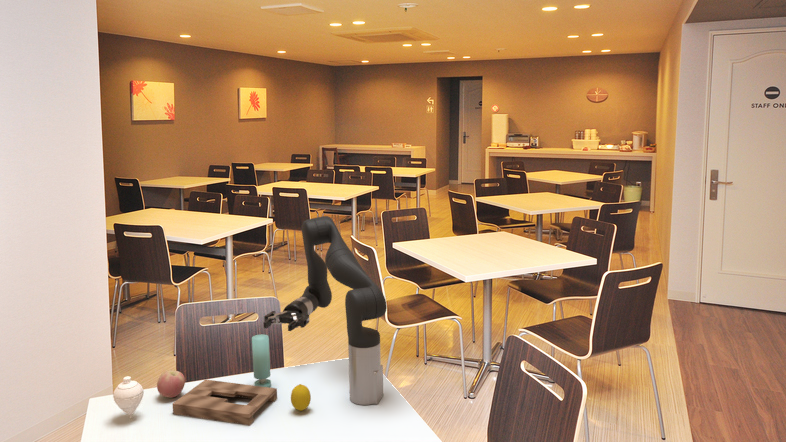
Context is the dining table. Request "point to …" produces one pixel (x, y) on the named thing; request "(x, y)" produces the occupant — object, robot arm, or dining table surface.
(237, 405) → the keyhole plate
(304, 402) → the lemon
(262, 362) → the headed peg
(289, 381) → the dining table surface
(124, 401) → the spinning top
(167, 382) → the apple
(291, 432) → the dining table surface
